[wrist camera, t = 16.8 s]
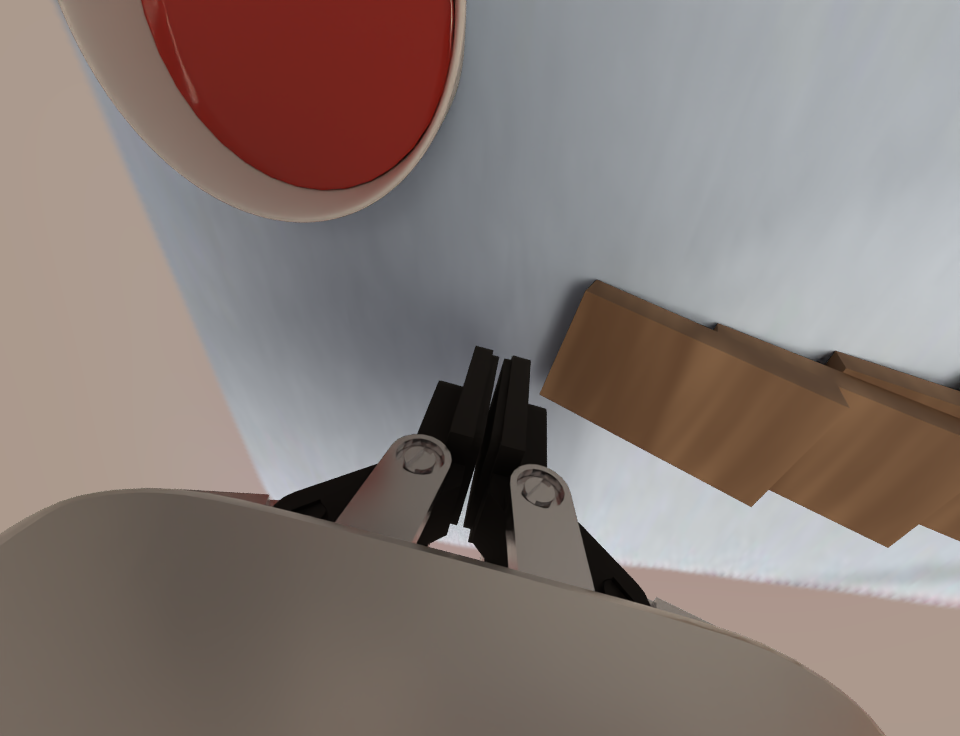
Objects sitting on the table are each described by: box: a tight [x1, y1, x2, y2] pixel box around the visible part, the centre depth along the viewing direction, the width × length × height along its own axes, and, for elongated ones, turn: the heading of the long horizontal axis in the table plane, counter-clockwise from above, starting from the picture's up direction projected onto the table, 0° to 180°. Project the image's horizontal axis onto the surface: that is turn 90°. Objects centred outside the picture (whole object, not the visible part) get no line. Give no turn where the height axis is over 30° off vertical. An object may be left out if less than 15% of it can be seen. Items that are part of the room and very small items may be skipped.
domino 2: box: [714, 323, 960, 548], centre depth 16 cm, size 2×5×9 cm
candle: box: [58, 0, 466, 222], centre depth 11 cm, size 9×9×6 cm
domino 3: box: [825, 351, 960, 541], centre depth 16 cm, size 2×5×9 cm
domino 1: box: [540, 280, 850, 507], centre depth 16 cm, size 2×5×9 cm
